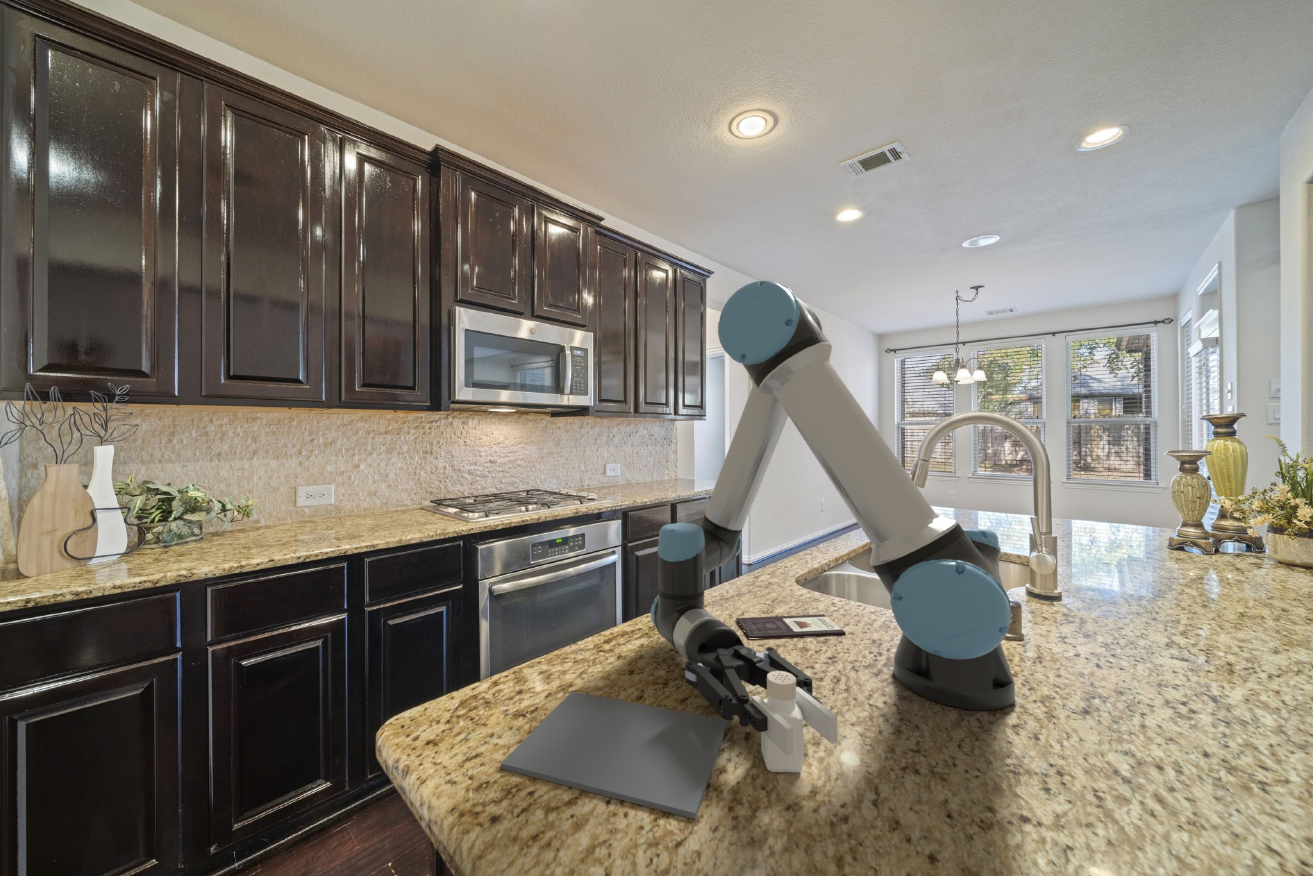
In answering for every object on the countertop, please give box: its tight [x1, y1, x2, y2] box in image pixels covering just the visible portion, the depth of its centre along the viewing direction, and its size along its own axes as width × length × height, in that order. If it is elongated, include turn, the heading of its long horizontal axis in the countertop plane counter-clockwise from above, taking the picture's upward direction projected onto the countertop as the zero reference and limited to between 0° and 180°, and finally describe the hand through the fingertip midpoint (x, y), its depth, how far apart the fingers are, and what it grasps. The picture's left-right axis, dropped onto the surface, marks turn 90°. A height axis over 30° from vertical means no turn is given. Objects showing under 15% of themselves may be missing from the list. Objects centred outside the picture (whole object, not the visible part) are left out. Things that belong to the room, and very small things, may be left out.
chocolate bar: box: [735, 613, 847, 639], centre depth 93 cm, size 9×1×18 cm
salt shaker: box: [760, 671, 804, 773], centre depth 54 cm, size 4×4×10 cm
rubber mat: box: [500, 690, 729, 820], centre depth 58 cm, size 22×16×1 cm
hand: (812, 735), depth 50 cm, fingers closed on salt shaker, 5 cm apart
